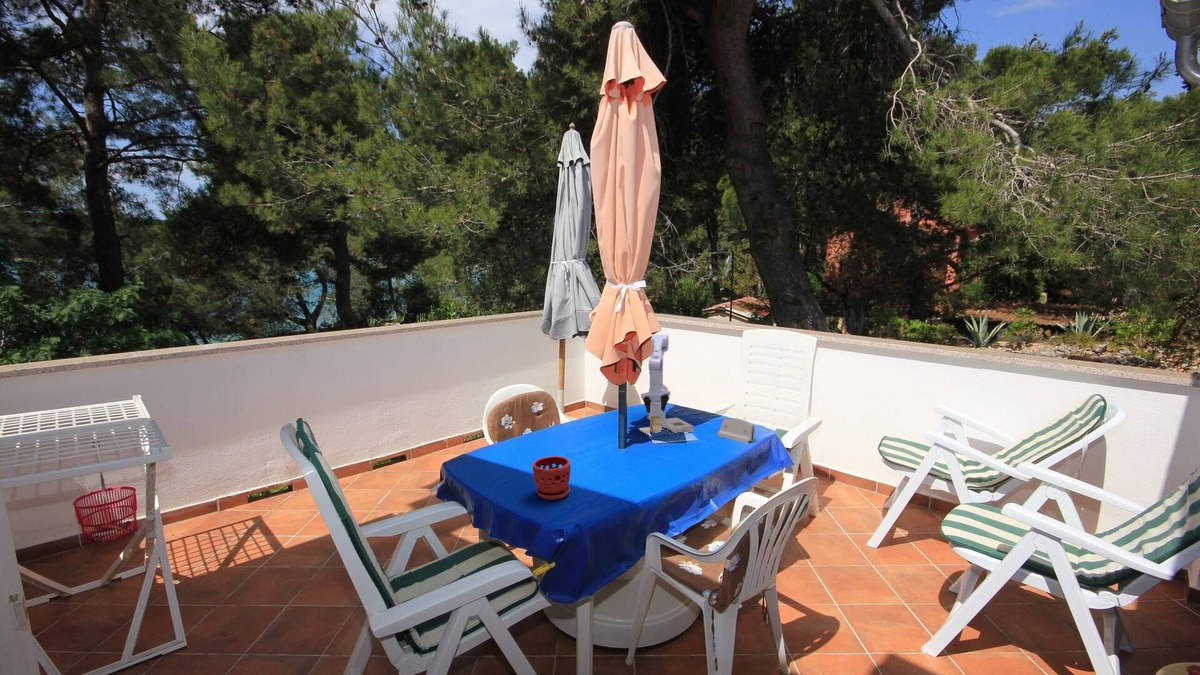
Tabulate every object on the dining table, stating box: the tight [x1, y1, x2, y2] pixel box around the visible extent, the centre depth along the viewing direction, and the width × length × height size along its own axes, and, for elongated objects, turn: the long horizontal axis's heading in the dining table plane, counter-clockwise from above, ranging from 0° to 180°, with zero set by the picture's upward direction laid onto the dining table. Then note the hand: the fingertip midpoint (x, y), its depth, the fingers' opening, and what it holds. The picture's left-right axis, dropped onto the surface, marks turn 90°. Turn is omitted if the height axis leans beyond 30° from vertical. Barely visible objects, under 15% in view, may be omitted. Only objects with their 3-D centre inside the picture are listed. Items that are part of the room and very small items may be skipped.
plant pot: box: [532, 455, 571, 501], centre depth 193 cm, size 13×13×12 cm
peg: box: [649, 416, 663, 433], centre depth 261 cm, size 4×4×7 cm
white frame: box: [662, 417, 694, 433], centre depth 268 cm, size 16×10×3 cm, turn 21°
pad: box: [638, 426, 652, 438], centre depth 263 cm, size 14×10×1 cm
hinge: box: [717, 417, 756, 445], centre depth 253 cm, size 17×5×10 cm, turn 44°
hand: (655, 411), depth 261 cm, fingers open, 7 cm apart
